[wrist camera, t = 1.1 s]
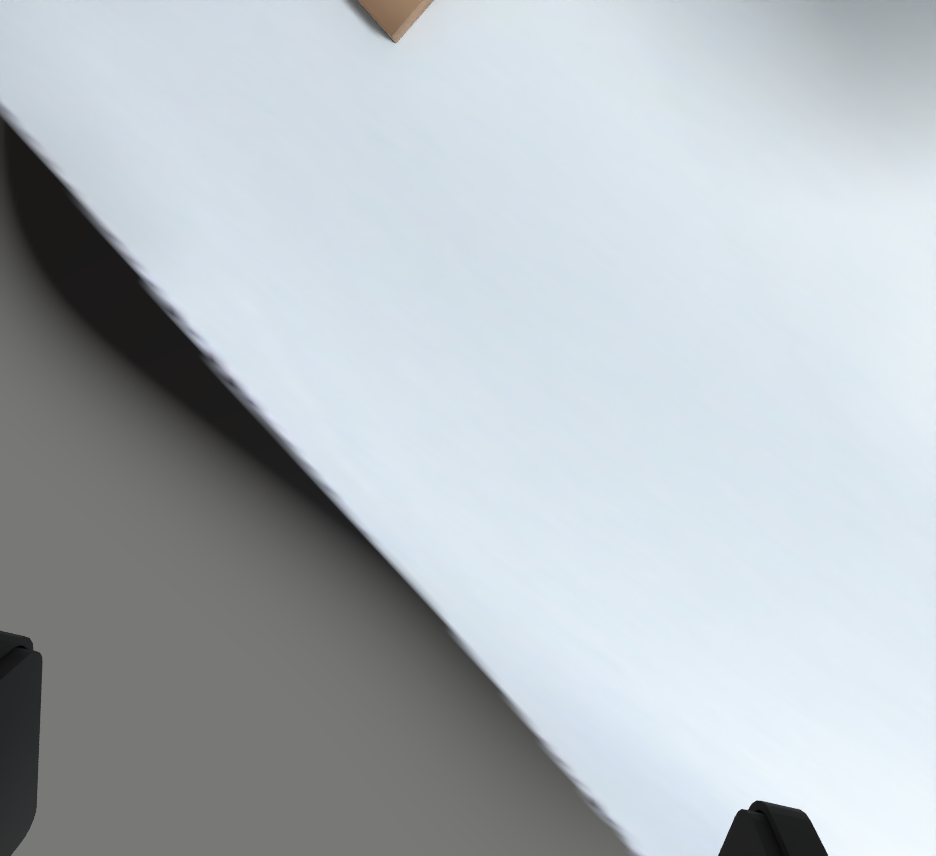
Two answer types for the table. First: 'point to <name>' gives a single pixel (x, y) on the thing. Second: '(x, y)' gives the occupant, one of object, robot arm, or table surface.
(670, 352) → the table surface
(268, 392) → the table surface
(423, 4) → the dial board
